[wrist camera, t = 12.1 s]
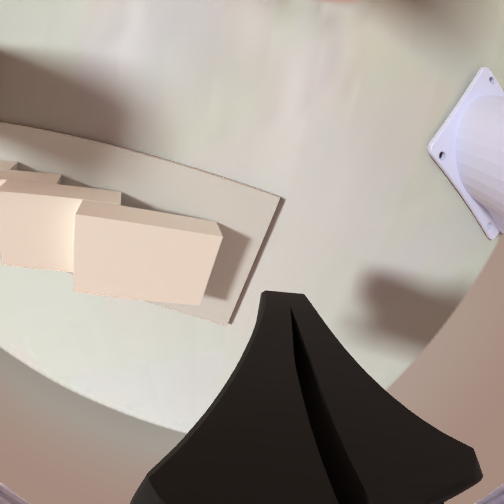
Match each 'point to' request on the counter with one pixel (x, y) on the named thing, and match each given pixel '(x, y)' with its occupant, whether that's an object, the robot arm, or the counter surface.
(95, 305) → the counter surface
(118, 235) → the tile
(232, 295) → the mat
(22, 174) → the tile
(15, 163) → the tile
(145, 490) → the robot arm
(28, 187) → the tile
